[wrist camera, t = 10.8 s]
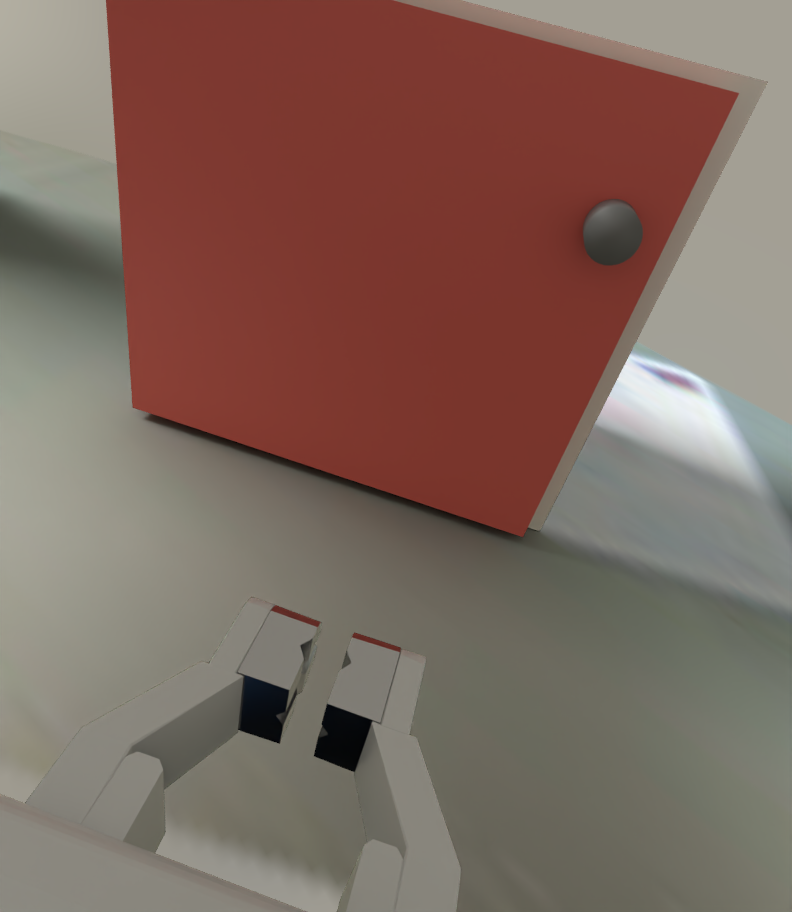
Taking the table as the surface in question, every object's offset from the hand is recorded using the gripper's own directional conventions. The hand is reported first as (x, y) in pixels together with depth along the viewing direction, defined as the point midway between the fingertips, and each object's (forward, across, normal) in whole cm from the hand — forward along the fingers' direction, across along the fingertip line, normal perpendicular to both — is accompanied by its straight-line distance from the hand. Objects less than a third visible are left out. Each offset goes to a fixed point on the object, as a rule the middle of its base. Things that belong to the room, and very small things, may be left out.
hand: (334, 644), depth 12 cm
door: (+15, +5, +8) cm, 18 cm away
